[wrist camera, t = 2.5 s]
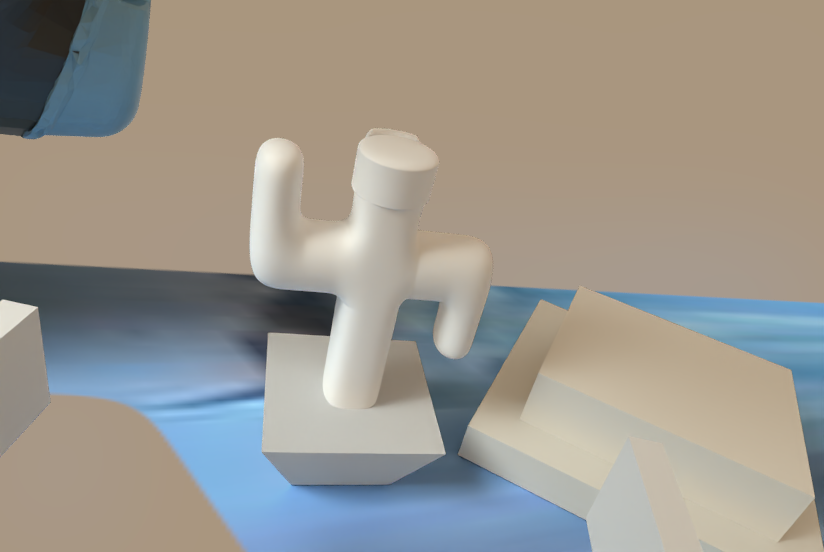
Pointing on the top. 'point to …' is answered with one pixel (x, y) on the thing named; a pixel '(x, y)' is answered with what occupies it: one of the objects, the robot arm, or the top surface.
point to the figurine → (360, 313)
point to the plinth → (650, 422)
